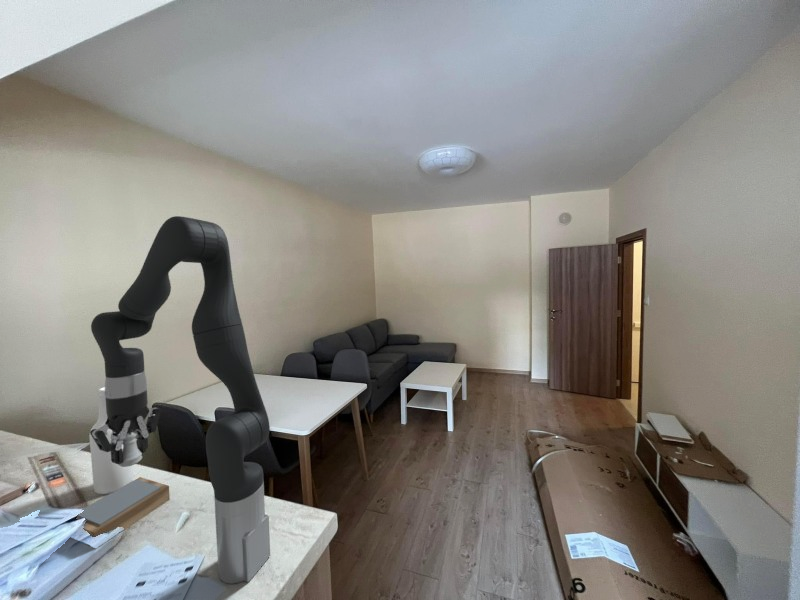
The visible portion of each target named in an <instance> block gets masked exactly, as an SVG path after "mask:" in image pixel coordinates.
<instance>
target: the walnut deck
mask: <svg viewBox="0 0 800 600" xmlns="http://www.w3.org/2000/svg"><path fill="white" fill-rule="evenodd" d="M136 479H137V480H140V481H143V482H146V483H149V484H153V485H156V486H159V487H161V489H159V490H158V491H156V492H154V493H153V494H151V495H150V496H148V497H146V498H145V499H143V500H142V501H140V502H138V503H137V504H135V505H134V506H132V507H130V508H129V509H127V510H125V511H124V512H122V513H121V514H119V515H117V516H116V517H114V518H113V519H111V520H109V521H108V522H106V523H105V524H103V525H101V526H98V525H96V524H93V523H91V522H88V521H86V522H85V524H84V528H83V529H84V530H85V531H87V532H88V533H89V534H90V536H92V537H96V536H98V535H100V534H103V533H107V532H109V531H111V530H114V529H116V528H117V527H123V528H124V531H125V530H126V529H128V528H129V527H132V525H134V524H135V523H137V522H139V521H140V520H142V519H143V518H144V517H146V516H147V515H149V514H150V513H152V512H153V511H155V510H157V509H158V508H159V507H161V506H162V505H164V504H165V503H167V502H168V501H170V499H171V497H170V496H171V494H170V486H169V485H167V484H164V483H162V482H157V481H155V480H152V479H147V478H145V477H138V478H136ZM136 479H133V480H132V482H133V481H135V480H136ZM130 483H131V482H130ZM125 486H126V485H125ZM123 487H124V486H123ZM121 488H122V487H121ZM116 491H117V490H116ZM114 492H115V491H114ZM112 493H113V492H112ZM106 496H107V495H105V496H104V497H106ZM104 497H102V498H104ZM97 501H98V500H96V501H94V502H93V503H95V502H97ZM88 506H89V505H87V506H85V507H83V508H82V509H84V508H86V507H88ZM76 519H80V518H79V517H77V518H76Z"/></svg>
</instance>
